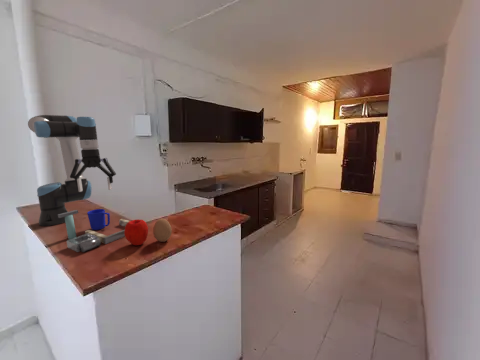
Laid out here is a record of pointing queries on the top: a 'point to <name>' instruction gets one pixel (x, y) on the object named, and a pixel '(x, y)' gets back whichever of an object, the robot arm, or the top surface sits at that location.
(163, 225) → the egg
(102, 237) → the bay
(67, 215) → the crank peg
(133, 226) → the apple
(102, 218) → the mug
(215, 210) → the top surface
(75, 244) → the block
